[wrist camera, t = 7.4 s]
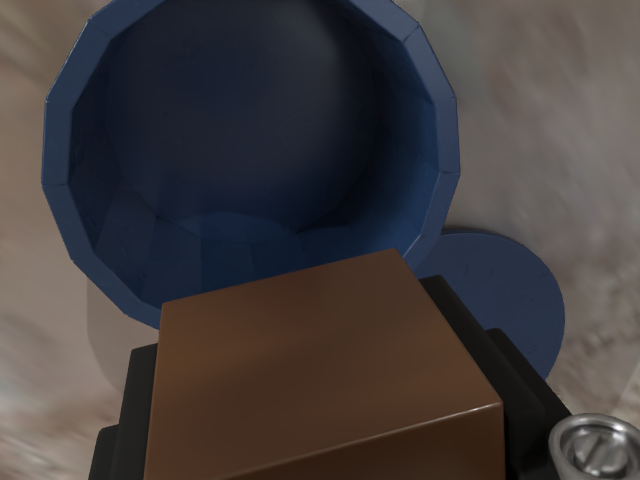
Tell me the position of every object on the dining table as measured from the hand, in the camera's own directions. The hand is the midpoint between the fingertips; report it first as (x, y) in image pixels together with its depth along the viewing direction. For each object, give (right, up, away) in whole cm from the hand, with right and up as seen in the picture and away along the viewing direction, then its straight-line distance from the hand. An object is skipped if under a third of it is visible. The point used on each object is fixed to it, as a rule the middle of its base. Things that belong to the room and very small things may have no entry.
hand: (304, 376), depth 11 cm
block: (0, 0, 0) cm, 0 cm away
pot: (-3, +8, +16) cm, 18 cm away
